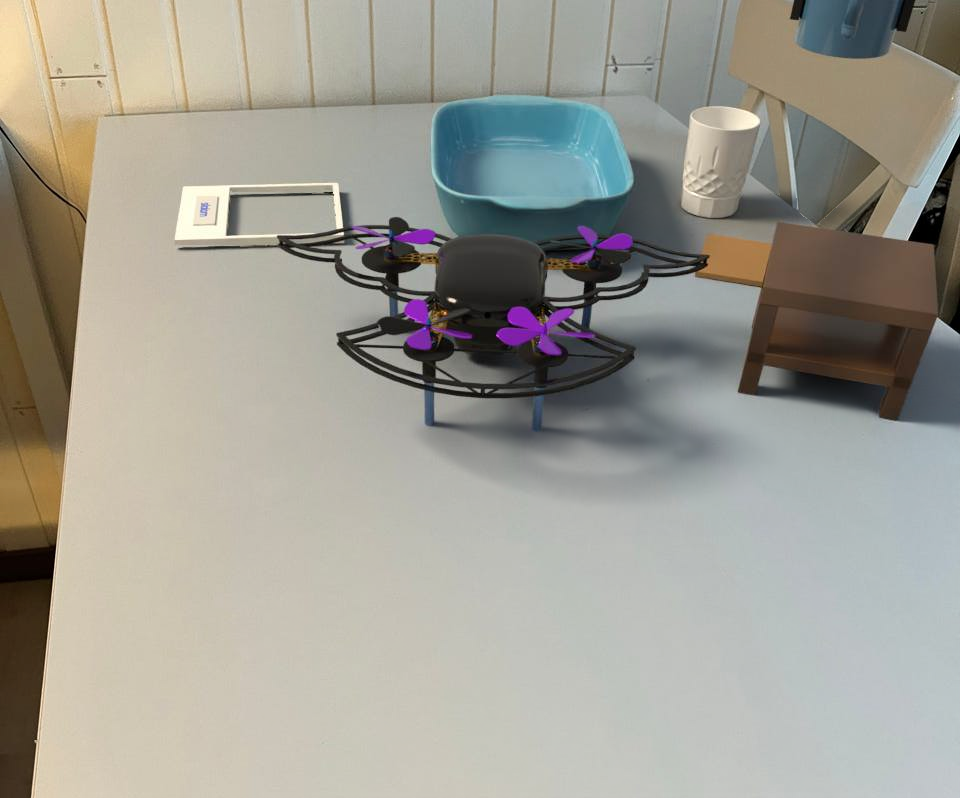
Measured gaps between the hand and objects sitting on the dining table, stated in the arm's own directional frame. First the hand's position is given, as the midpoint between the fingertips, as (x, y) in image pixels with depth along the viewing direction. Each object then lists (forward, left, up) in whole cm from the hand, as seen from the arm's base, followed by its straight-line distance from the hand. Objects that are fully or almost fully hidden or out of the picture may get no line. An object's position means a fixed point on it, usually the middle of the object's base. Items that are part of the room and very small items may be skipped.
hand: (847, 21), depth 83 cm
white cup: (+10, -23, -26) cm, 36 cm away
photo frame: (+58, -1, -25) cm, 63 cm away
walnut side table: (-5, +11, -25) cm, 28 cm away
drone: (+24, +24, -26) cm, 43 cm away
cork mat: (+4, -9, -25) cm, 27 cm away
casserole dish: (+31, -16, -26) cm, 43 cm away
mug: (0, +2, -2) cm, 2 cm away
